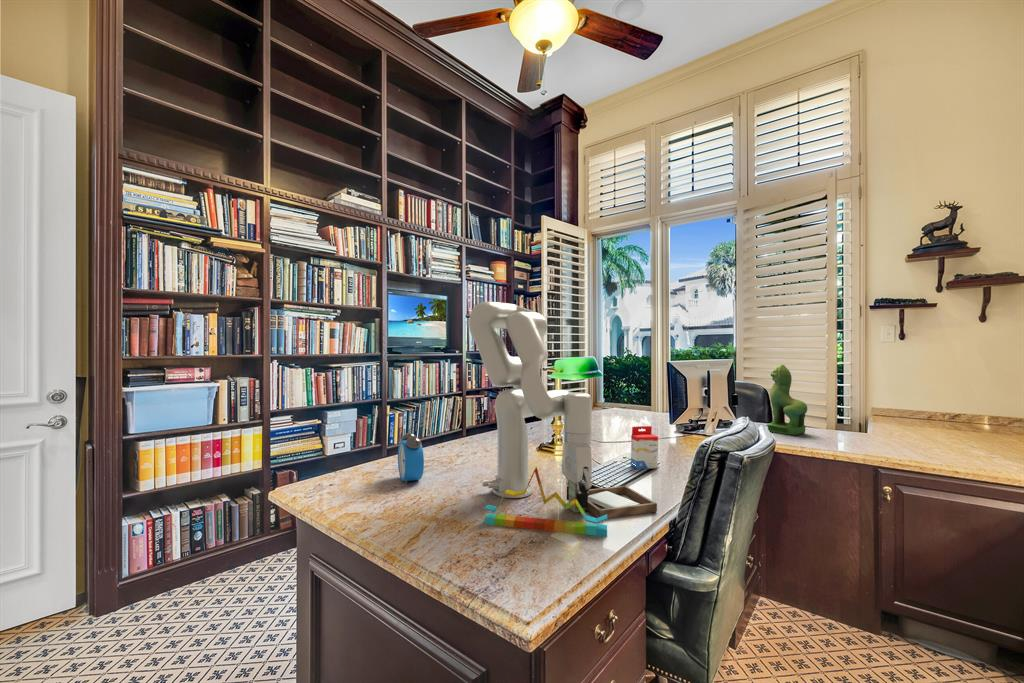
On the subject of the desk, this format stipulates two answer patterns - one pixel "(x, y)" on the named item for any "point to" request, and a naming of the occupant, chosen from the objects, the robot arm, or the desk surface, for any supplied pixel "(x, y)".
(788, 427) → the lion statue
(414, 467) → the alarm clock
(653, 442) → the ink box
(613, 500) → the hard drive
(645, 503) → the sliding frame
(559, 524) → the chart
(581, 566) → the desk surface
